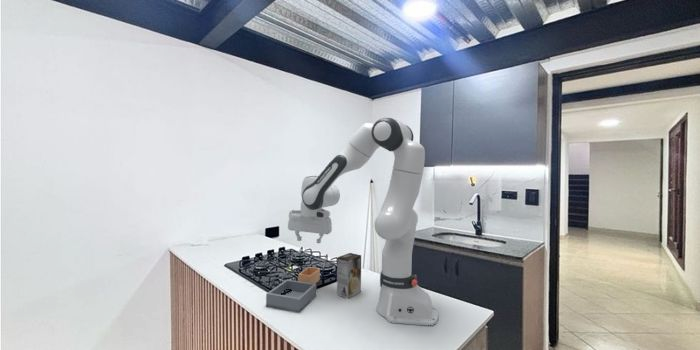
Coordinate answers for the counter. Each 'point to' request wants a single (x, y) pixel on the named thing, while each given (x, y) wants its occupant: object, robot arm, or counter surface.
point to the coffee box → (348, 275)
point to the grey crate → (291, 296)
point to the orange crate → (309, 275)
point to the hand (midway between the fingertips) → (308, 241)
